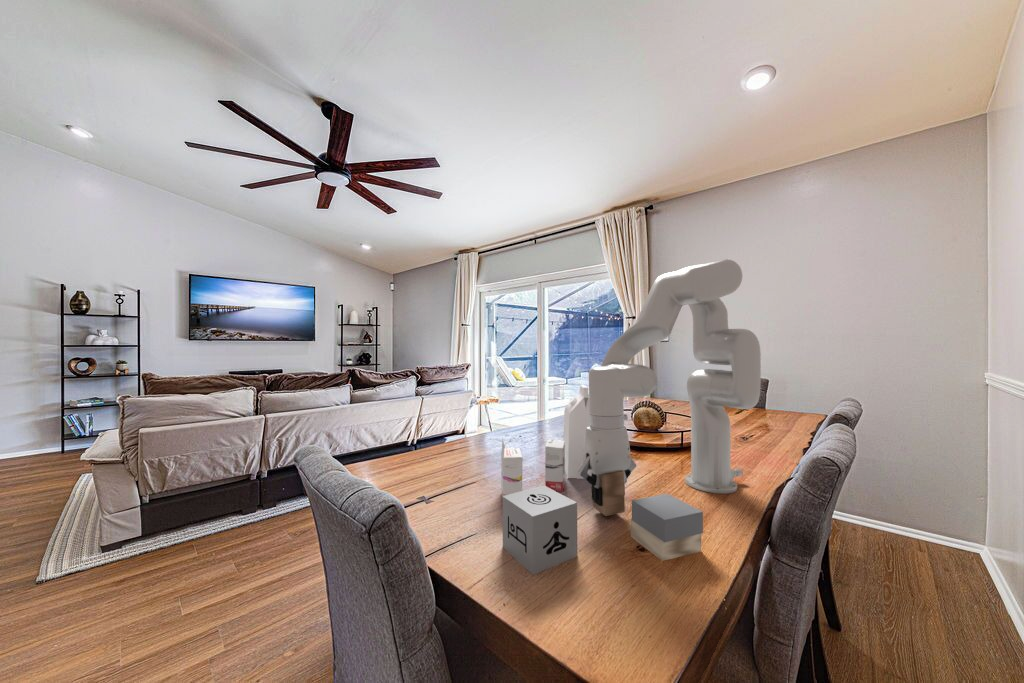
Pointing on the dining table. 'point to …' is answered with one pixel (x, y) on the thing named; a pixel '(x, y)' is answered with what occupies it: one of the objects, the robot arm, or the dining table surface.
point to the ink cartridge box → (511, 470)
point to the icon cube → (539, 528)
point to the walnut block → (612, 494)
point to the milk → (576, 432)
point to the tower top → (667, 517)
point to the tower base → (665, 543)
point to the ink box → (555, 464)
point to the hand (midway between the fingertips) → (608, 500)
